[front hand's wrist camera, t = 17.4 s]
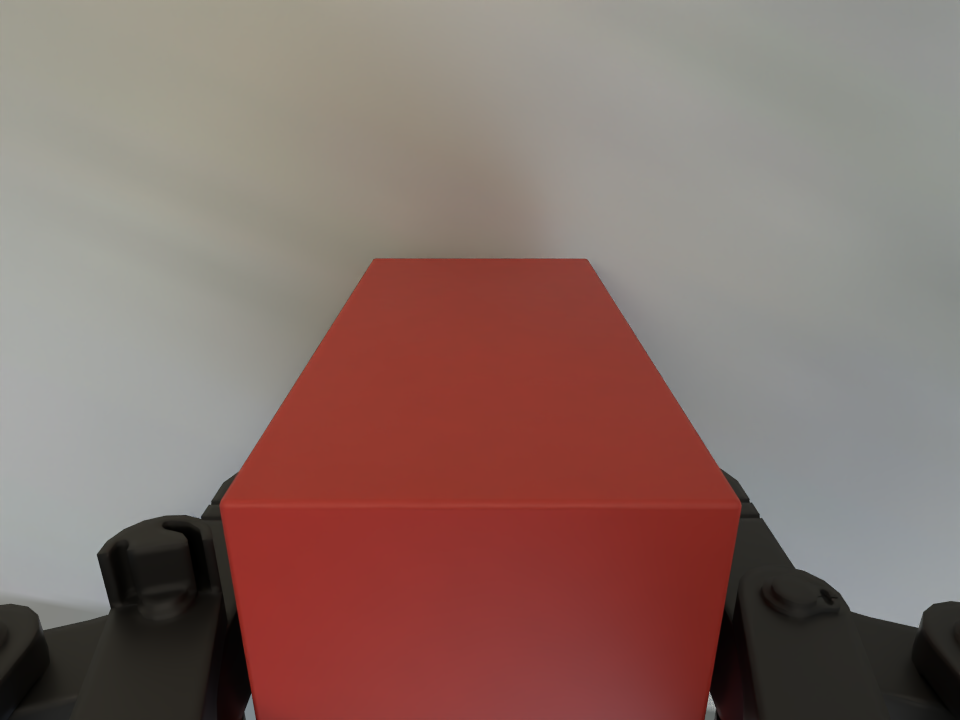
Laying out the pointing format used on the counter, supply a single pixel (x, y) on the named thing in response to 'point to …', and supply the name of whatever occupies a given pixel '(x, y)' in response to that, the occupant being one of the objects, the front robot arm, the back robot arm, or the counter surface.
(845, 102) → the counter surface
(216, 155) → the counter surface
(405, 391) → the block
